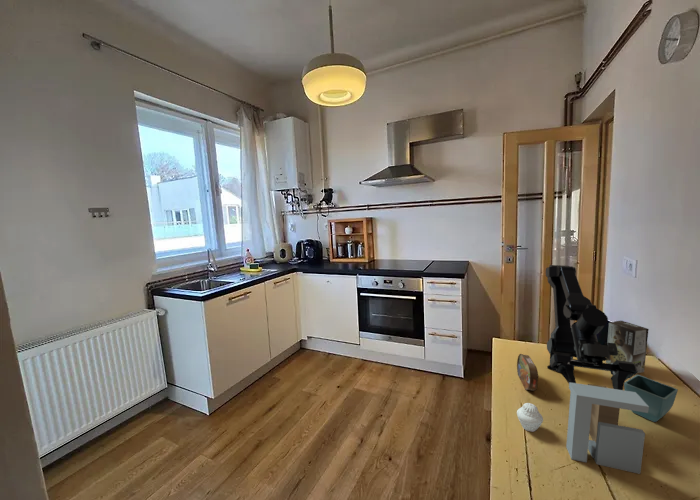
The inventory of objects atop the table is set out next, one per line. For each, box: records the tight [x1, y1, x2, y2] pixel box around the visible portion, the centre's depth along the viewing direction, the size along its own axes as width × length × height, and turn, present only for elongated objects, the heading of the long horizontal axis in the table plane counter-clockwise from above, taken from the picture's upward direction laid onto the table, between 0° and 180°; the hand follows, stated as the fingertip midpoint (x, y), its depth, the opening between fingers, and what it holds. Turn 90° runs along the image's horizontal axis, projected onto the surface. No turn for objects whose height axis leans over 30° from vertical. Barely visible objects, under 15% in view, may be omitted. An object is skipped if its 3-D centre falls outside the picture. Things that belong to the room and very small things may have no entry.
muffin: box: [516, 402, 544, 433], centre depth 83 cm, size 6×6×7 cm
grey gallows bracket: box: [565, 382, 649, 475], centre depth 72 cm, size 6×13×16 cm, turn 69°
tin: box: [516, 353, 539, 392], centre depth 104 cm, size 15×3×8 cm, turn 164°
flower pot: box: [623, 374, 679, 423], centre depth 87 cm, size 9×9×9 cm
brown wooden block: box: [587, 383, 621, 442], centre depth 79 cm, size 8×4×12 cm, turn 159°
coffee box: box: [605, 320, 650, 374], centre depth 112 cm, size 9×6×16 cm
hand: (597, 397), depth 81 cm, fingers open, 9 cm apart
